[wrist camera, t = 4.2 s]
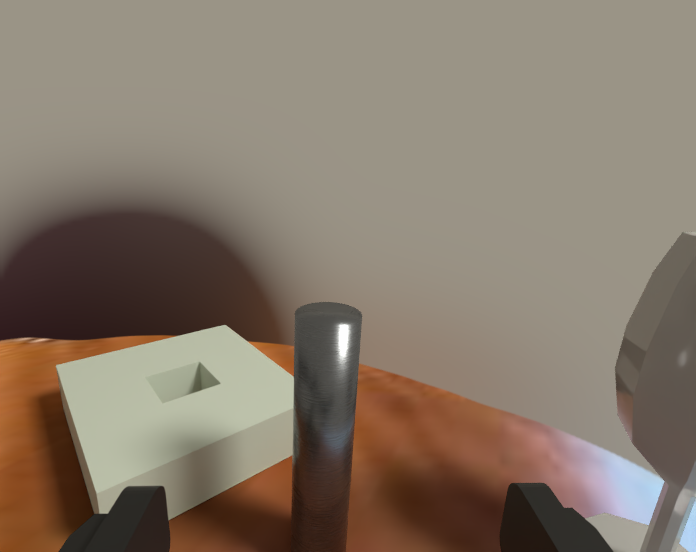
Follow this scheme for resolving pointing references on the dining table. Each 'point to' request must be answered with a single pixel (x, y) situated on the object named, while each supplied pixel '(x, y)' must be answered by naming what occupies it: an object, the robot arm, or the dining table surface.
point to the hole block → (177, 417)
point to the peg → (323, 424)
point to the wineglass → (660, 400)
